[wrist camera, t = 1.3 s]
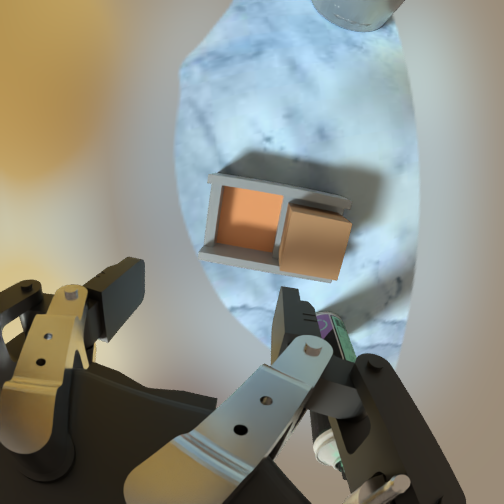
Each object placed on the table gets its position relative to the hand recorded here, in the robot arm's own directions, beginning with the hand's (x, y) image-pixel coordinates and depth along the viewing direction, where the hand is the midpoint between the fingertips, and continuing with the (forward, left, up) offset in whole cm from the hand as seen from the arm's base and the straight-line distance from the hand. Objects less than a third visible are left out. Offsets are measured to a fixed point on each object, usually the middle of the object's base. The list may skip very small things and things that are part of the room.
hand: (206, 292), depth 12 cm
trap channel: (0, +3, -18) cm, 18 cm away
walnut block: (0, +6, -16) cm, 17 cm away
